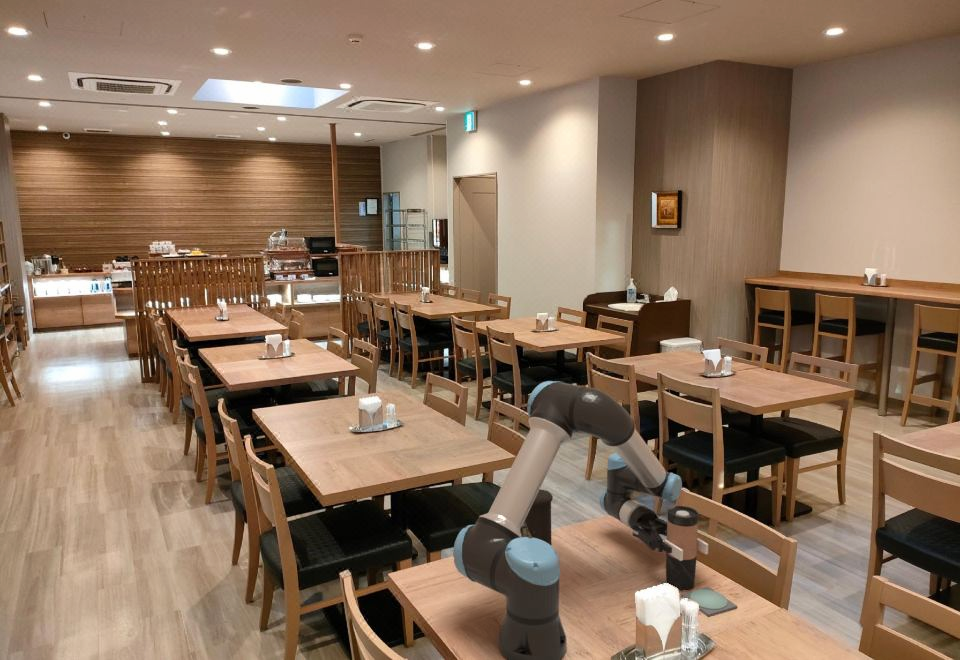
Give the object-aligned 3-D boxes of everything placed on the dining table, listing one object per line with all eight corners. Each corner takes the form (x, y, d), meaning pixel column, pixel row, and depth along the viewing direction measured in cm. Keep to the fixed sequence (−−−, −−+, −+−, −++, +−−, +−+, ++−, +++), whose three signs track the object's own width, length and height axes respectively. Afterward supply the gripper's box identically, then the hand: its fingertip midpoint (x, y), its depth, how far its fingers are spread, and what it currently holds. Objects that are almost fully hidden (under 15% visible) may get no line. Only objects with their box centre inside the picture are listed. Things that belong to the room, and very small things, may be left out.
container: (515, 557, 193) (515, 490, 190) (542, 550, 197) (543, 484, 194) (530, 570, 186) (530, 500, 183) (558, 563, 189) (559, 495, 186)
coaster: (708, 616, 163) (708, 612, 163) (680, 596, 172) (680, 592, 172) (737, 608, 166) (737, 604, 166) (708, 588, 175) (708, 585, 175)
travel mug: (696, 593, 173) (700, 518, 171) (665, 590, 175) (668, 516, 172) (693, 578, 181) (696, 506, 178) (664, 575, 182) (666, 504, 179)
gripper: (667, 524, 197) (724, 558, 176) (608, 537, 189) (661, 574, 168) (668, 499, 196) (726, 531, 175) (609, 511, 188) (662, 546, 167)
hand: (694, 552), depth 172 cm, fingers closed on travel mug, 7 cm apart
